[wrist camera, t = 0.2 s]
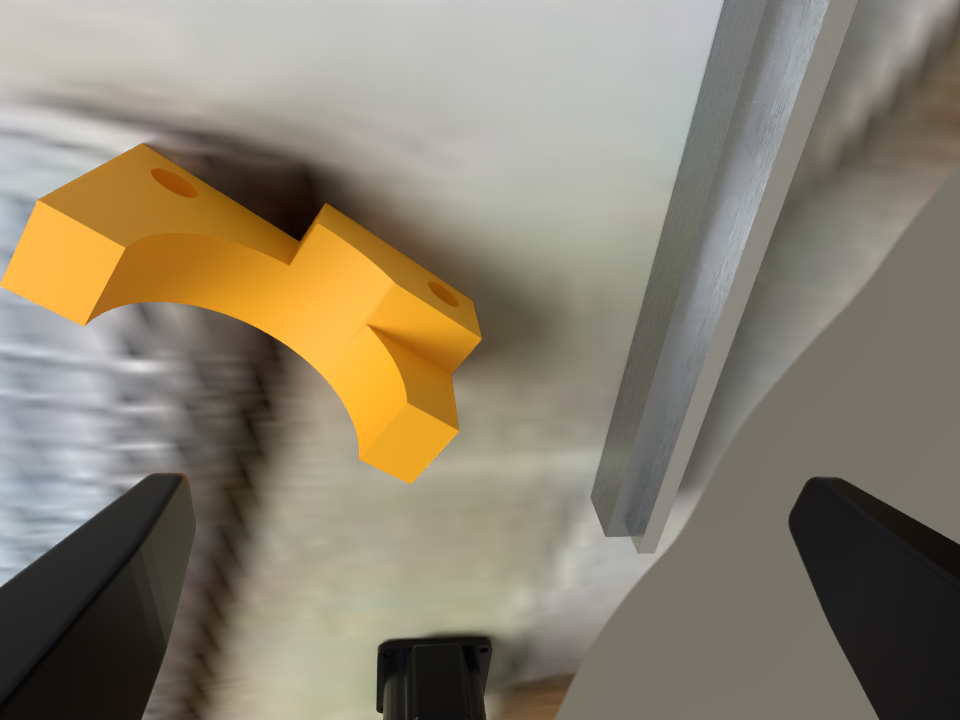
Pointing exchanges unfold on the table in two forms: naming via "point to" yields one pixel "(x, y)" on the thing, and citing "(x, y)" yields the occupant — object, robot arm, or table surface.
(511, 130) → the table surface
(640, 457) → the rail
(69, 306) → the pipe clamp
